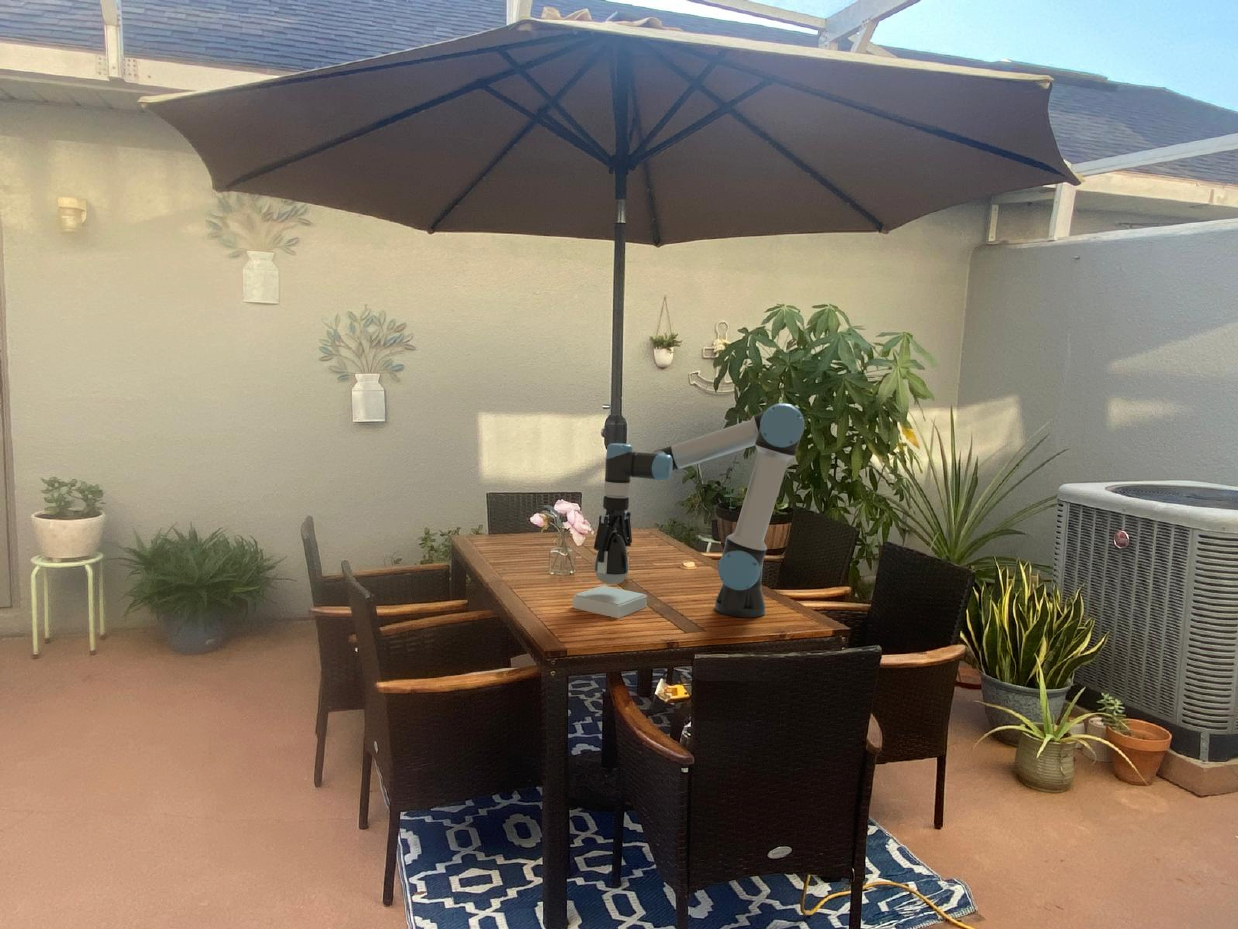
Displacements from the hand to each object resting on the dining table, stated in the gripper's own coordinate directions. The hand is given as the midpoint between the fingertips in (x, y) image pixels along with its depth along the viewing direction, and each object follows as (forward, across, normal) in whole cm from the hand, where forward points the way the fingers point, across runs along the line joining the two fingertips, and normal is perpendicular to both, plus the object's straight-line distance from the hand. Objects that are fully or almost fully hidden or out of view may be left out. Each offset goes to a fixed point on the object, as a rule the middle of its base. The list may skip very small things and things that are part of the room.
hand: (611, 570), depth 247 cm
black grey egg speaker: (+4, 0, 0) cm, 4 cm away
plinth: (+11, 0, 0) cm, 11 cm away
